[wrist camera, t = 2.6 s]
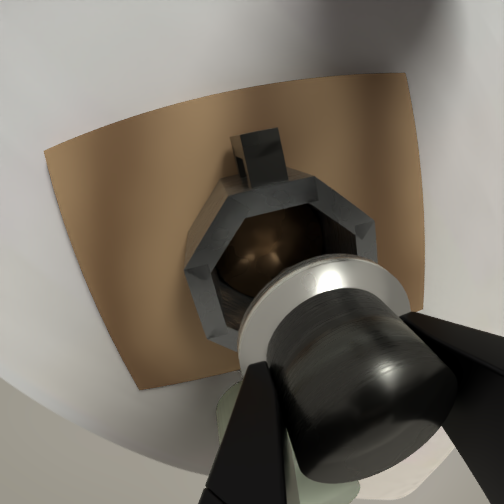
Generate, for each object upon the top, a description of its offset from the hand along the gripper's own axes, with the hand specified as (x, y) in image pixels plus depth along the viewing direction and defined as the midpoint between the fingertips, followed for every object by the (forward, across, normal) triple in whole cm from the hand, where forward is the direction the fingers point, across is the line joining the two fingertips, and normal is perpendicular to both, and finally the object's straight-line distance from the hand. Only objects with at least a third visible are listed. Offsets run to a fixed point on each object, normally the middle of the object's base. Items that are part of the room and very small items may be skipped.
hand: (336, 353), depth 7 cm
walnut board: (+10, 0, 0) cm, 10 cm away
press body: (+9, 0, 0) cm, 9 cm away
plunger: (+4, 0, 0) cm, 4 cm away
